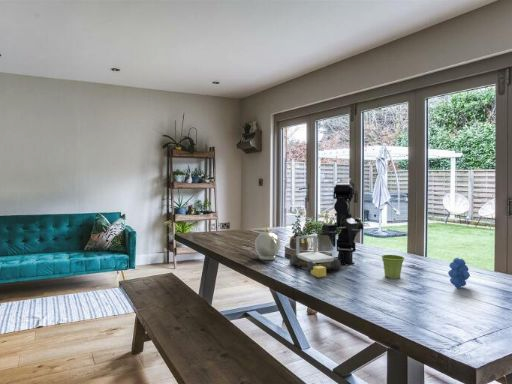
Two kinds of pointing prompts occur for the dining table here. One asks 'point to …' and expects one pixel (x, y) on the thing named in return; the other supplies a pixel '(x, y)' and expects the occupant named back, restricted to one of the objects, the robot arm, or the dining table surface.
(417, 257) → the dining table surface
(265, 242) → the teapot
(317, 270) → the yellow step block
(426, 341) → the dining table surface
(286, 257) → the dining table surface
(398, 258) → the plant pot
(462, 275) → the grapes
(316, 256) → the trolley
